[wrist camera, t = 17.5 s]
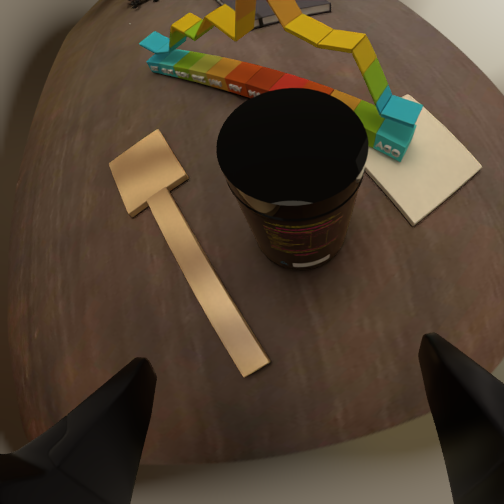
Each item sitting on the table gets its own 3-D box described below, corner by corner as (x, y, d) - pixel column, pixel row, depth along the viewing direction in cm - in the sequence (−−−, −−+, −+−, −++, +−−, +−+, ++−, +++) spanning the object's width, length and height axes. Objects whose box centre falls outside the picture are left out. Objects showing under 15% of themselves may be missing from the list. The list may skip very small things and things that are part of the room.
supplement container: (324, 176, 23) (327, 74, 14) (361, 253, 21) (397, 175, 11) (243, 205, 24) (202, 114, 14) (271, 286, 21) (240, 230, 12)
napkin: (480, 170, 21) (482, 166, 21) (412, 227, 21) (414, 223, 20) (407, 97, 25) (408, 93, 24) (332, 137, 24) (332, 133, 24)
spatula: (296, 345, 20) (296, 345, 19) (222, 390, 20) (218, 392, 19) (161, 133, 28) (157, 127, 27) (112, 167, 28) (107, 162, 27)
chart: (150, 73, 32) (98, -18, 18) (168, 58, 33) (122, -33, 19) (399, 164, 22) (444, -5, 8) (411, 139, 22) (451, -17, 8)
